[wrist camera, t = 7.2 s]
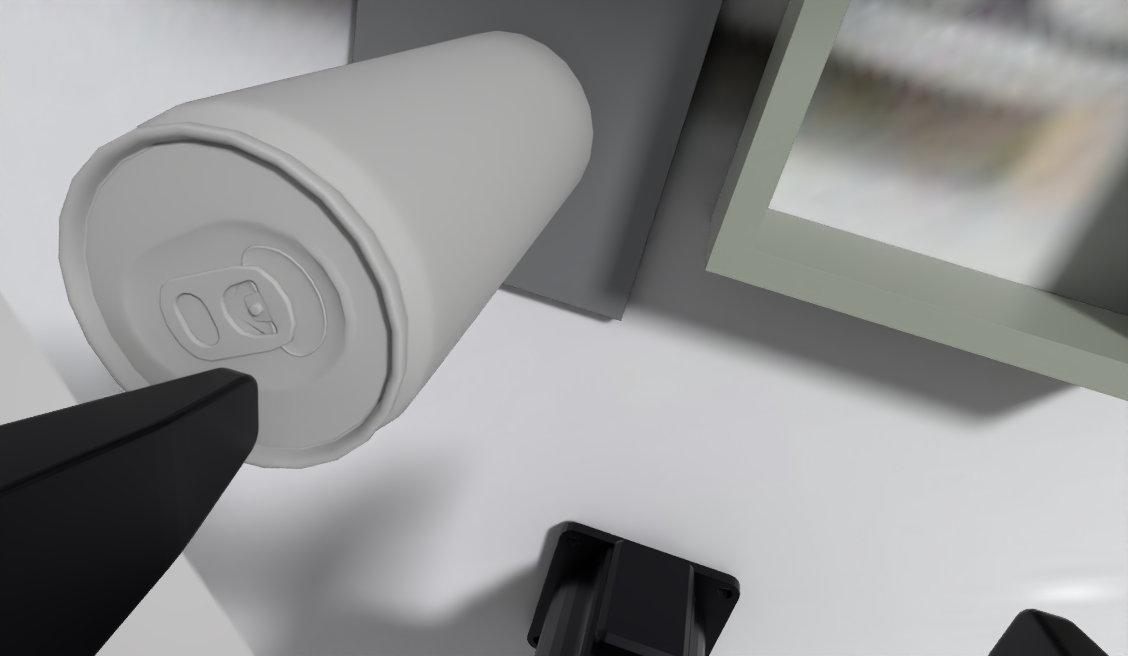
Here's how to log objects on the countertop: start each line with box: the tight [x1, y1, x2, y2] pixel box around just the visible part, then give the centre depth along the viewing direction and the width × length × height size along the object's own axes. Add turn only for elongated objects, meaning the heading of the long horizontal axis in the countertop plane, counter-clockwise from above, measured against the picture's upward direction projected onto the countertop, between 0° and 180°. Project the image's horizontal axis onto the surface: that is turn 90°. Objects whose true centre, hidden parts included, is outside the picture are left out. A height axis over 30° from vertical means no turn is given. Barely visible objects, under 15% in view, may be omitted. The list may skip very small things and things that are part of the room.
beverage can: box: [59, 31, 593, 469], centre depth 14 cm, size 5×5×12 cm
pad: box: [352, 0, 723, 321], centre depth 19 cm, size 9×9×1 cm
